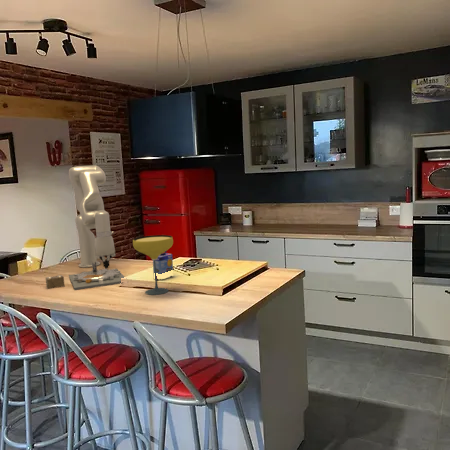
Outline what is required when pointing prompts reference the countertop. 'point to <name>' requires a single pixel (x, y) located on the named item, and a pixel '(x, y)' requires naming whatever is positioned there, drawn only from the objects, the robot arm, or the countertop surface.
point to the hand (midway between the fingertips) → (106, 267)
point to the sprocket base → (95, 282)
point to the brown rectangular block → (55, 282)
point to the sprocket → (96, 275)
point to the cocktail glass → (153, 253)
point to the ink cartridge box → (163, 263)
